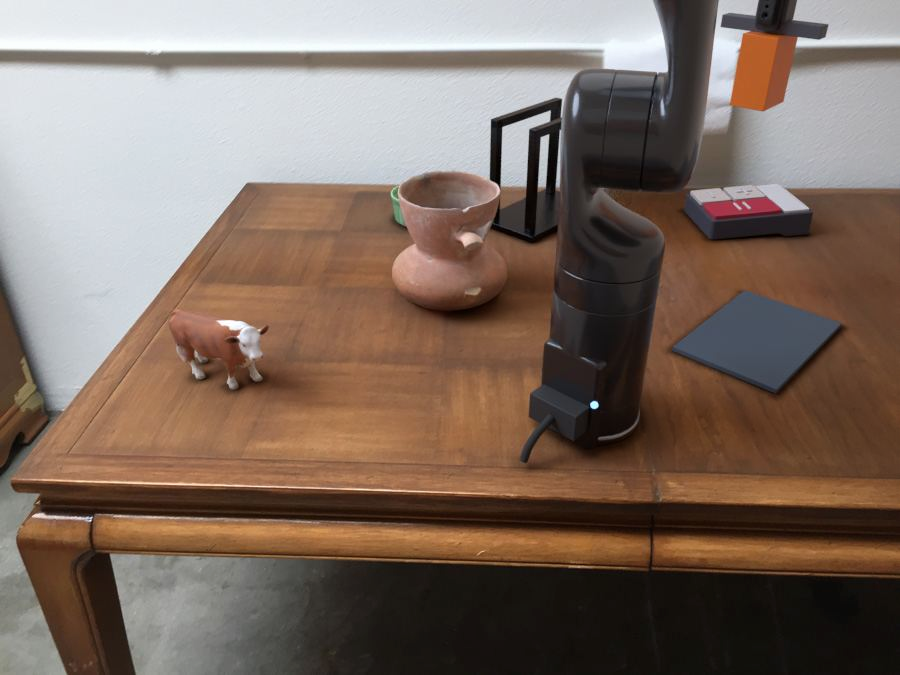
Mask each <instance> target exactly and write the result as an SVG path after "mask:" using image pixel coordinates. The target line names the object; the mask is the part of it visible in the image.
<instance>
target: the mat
mask: <svg viewBox="0 0 900 675" xmlns="http://www.w3.org/2000/svg"><path fill="white" fill-rule="evenodd" d="M842 324H843V323H842V322H840V321H837V320H834V319H831V318H828V317H825V316H822V315H819V314H816V313H815V312H811V311H807V310H804V309H802V308H799V307H796V306H793V305H790V304H787V303H784V302H781V301H779V300H775V299H772V298H770V297H767V296H764V295H762V294H761V295H760V294H759V293H755V292H752V291H750V290H746V289H745V290H743V291H742V292H740V293H739V294H738V295H737V296H735V297H734V298H732V299H731V300H730V301H729V302H728V303H727V304H725V305H724V306H722V308H720V309H719V310H718V311H716V312H715V313H714V314H713V315H711V316H710V317H709V318H707V319H706V320H705V321H704V322H702V323H701V324H700V325H699V326H697V327H696V328H694V329H693V330H692V331H691V332H689V334H687V335H686V336H684V337H683V338H682V339H681V340H679V341H678V342H677V343H676V344H674V345H673V346H672V350H671V351H672V352H674V353H677V354H679V355H681V356H684V357H686V358H689V359H691V360H693V361H696V362H698V363H700V364H703V365H706V366H707V367H710V368H713V369H715V370H717V371H719V372H721V373H724V374H727V375H729V376H732V377H734V378H737V379H739V380H741V381H744V382H747V383H749V384H751V385H754V386H755V387H759V388H761V389H763V390H766V391H768V392H770V393H772V394H776V395H777V393H778V392H779V391H780V390H782V388H784V386H785V385H786V384H787V383H788V382H789V381H790V380H791V379H792V378H793V377H794V376H795V375H796V374H797V373H798V372H799V371H800V370H801V369H802V368H803V367H804V366H805V365H806V363H807V362H808V361H809V360H811V359H812V358H813V356H815V354H817V352H818V351H819V350H820V349H821V348H822V347H823V346H824V345H825V344H826V343H827V342H828V341H829V340H830V339H831V338H832V337H833V336H834V335H835V334H836V333H837V332H838V331H839V330H840V329H841V328H842Z"/></svg>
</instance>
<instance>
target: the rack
mask: <svg viewBox="0 0 900 675" xmlns="http://www.w3.org/2000/svg"><path fill="white" fill-rule="evenodd" d="M562 108H563V98H560V97H552V98H550V99H548V100H544V101H541V102H538V103H535V104H531V105H529V106H526V107H523V108H520V109H517V110H514V111H511V112H508V113H505V114H503V115H499V116H496V117H493V118H491V119H490V138H489V139H490V143H489V144H490V145H489V148H490V149H489V180H491V181H492V182H494V183H496V184H497V185H498V186H499V188H500V191H502V190H501V189H502V188H501V186H502V185H501V184H502V157H503V156H502V155H503V154H502V151H503V128H504V127H507V126H510V125H513V124H516V123H519V122H521V121H525V120H527V119H530V118H533V117H536V116H538V115H542V114H545V113H548V112H550V116H549V121H548V122H544V123H542V124H539V125H537V126H533V127H531V128H529V129H528V144H527V145H528V146H527V168H526V183H525V184H526V186H525V187H526V188H525V198H522V199H520V200H518V201H515V202H513V203H510V204H509V205H507V206H504V207H502V208H501V199H500V200H499V204H498V208H497V212H496V215H495V217H494V220H493V222H492V225H491V227H490V230H491V229H492V230H494V231H497V232H499V233H501V234H504V235H506V236H510V237H513V238H516V239H519V240H520V241H524V242H526V243H529V244H533V243H536V242H538V241H540V240H542V239H543V238H545V237H547V236H549V235H551V234H553V233H555V232H558V216H559V201H560V190H557V189H556V188H557V178H558V177H557V176H558V165H559V164H558V163H559V161H558V160H559V149H560V136H561V120H562ZM546 136H548V146H547V147H548V148H547V161H546V162H547V163H546V178H545V188H544V189H542V190H540V191H539V175H540V174H539V173H540V157H541V139H542V138H543V137H546Z"/></svg>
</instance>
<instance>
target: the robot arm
mask: <svg viewBox="0 0 900 675" xmlns="http://www.w3.org/2000/svg"><path fill="white" fill-rule="evenodd" d="M719 1H720V0H652V2H653V6H654V9H655V11H656V14H657V17H658V20H659V25H660V28H661V32H662V36H663V42H664V47H665V48H664V49H665V55H666V60H667V61H666V62H667V71H664V72H663V71H659V72H657V71H647V70H633V69H632V70H630V69H616V68H615V69H614V68H597V67H595V68H593V67H591V68H584V69H581V70H579V71H578V72H577V73H576V74H575V75H574V76H573V78H572V79H571V81H570V83H569V85H568V87H567V89H566V93H565V97H564V100H563V104H562V112H561V117H562V120H561V130H560V139H559V149H560V150H559V151H560V152H559V153H560V154H559V155H560V156H559V191H560V201H559V216H558V230H557V232H556V233H557V236H556V245H555V246H556V247H555V259H554V273H553V287H552V298H551V311H550V324H549V338H548V339H547V340H546V341H545V342H544V344H543V355H542V366H541V384H540V385H539V387H537V388H536V389H534V390H533V391H531V392H530V393H529V400H528V404H529V405H528V418H529V419H531V420H533V421H535V422H537V423H539V424H538V425H537V426H536V427H535V429H534V430H533V431H532V433H531V434H530V435H529V437H528V438H527V440H526V442H525V444H524V446H523V448H522V451H521V454H520V456H519V459H518V460H519V461H520V462H521V463H524V464H528V462H529V459H530V457H531V454H532V451H533V449H534V447H535V445H536V444H537V442H538V441H539V439H540V438H541V437H542V435H543V434H544V433H545V432H546V431H547V430H548V429H550V430H551V431H553V432H555V433H557V434H558V435H560V436H562V437H564V438H566V439H568V440H570V441H572V442H574V443H576V444H578V445H579V446H581V447H583V448H585V449H587V450H592V449H594V448H595V447H596V446H599V445H608V444H614V443H617V442H620V441H623V440H625V439H627V438H628V437H630V436H631V435H632V434H634V432H635V431H636V430H637V428H638V426H639V422H640V416H641V410H640V409H641V402H642V396H643V389H644V383H645V377H646V370H647V364H648V358H649V350H650V346H651V338H652V332H653V326H654V320H655V313H656V306H657V302H658V294H659V288H660V284H661V275H662V271H663V263H664V256H665V250H666V240H665V236H664V233H663V231H662V230H661V229H660V227H659V226H657V225H656V224H655V223H654V222H652V221H651V220H650V219H648V218H646V217H644V216H643V215H641V214H638V213H636V212H635V211H632V210H630V209H628V208H627V207H625V206H623V205H622V204H620V203H619V202H617V201H616V200H614V198H612V197H611V196H610V195H609V194H608V193H607V192H606V191H605V189H606V190H615V191H626V192H634V193H635V192H636V193H640V192H641V193H649V194H659V195H661V194H662V195H664V194H665V195H669V194H676V193H680V192H681V191H682V190H684V189H685V188H686V187H687V186H688V184H689V183H690V181H691V180H692V177H693V175H694V173H695V170H696V167H697V164H698V160H699V156H700V152H701V146H702V141H703V135H704V128H705V122H706V121H705V120H706V114H707V113H706V112H707V106H708V104H707V103H708V96H709V88H710V87H709V86H710V78H711V69H712V61H713V52H714V43H715V34H716V25H717V17H718V9H719V3H720V2H719ZM784 5H785V0H760V2H759V7H758V12H757V17H756V22H755V27H756V29H758V30H764V31H775V30H778V29H779V27H780V24H781V19H782V14H783V9H784Z"/></svg>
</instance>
